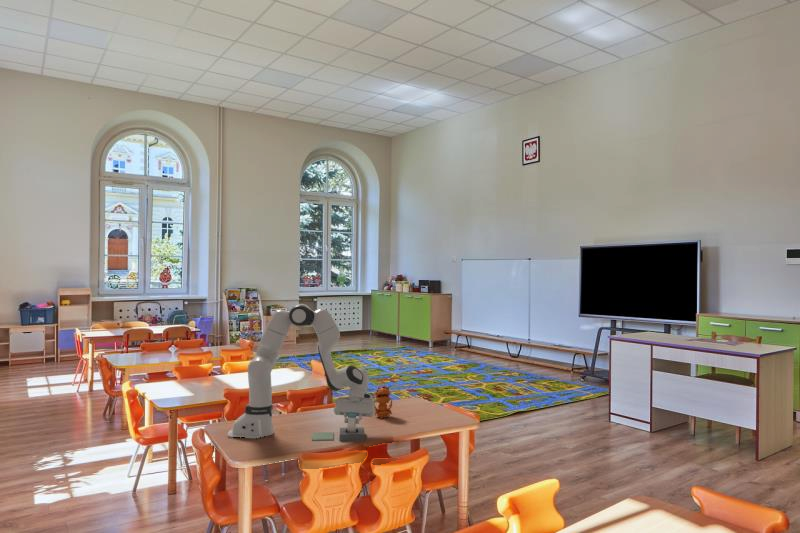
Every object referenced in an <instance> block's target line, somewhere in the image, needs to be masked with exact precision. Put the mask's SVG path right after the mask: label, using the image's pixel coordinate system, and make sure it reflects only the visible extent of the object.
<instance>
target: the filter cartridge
mask: <svg viewBox="0 0 800 533" xmlns="http://www.w3.org/2000/svg"><path fill="white" fill-rule="evenodd" d="M357 417H358V416H357V413H352V412H349V413H348V416H347V417H346V418H348V423H347V427H346V428H347V433H356V427H357V424H356V419H357Z"/></svg>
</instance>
